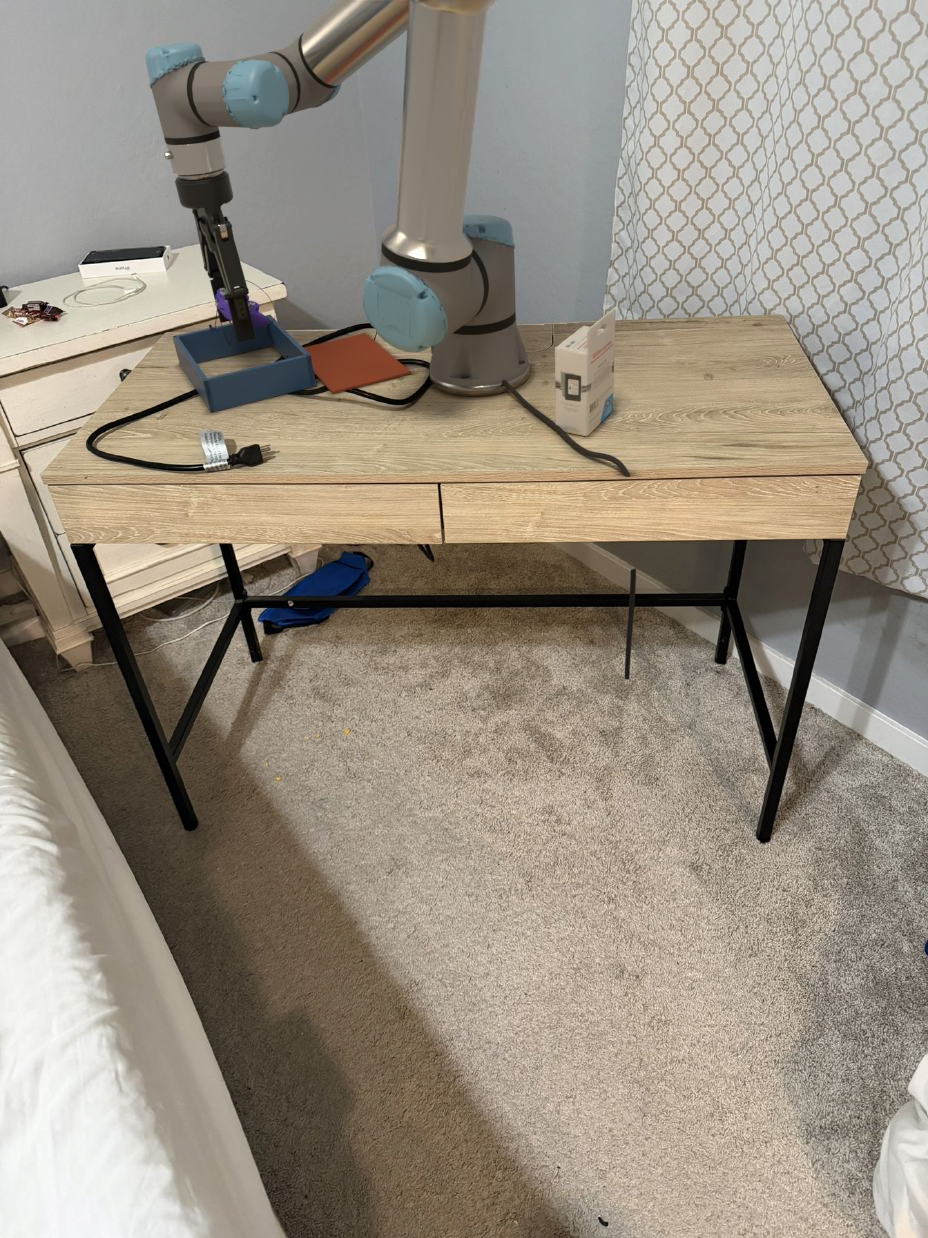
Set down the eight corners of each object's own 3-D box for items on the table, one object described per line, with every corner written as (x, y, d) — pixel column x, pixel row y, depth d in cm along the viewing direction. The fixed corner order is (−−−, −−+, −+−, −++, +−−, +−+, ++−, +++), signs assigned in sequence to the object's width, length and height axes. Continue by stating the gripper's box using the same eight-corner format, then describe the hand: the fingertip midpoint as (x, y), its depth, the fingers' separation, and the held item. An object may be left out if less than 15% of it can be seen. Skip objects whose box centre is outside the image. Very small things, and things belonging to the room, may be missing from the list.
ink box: (581, 405, 130) (583, 301, 121) (613, 411, 128) (617, 306, 119) (553, 430, 125) (553, 323, 116) (586, 437, 122) (588, 329, 113)
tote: (316, 386, 142) (310, 355, 139) (210, 412, 137) (202, 380, 134) (276, 343, 158) (270, 314, 154) (180, 365, 152) (172, 335, 149)
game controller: (289, 301, 140) (233, 307, 134) (281, 350, 145) (227, 358, 139) (251, 271, 144) (196, 275, 138) (245, 320, 150) (191, 326, 143)
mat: (411, 373, 143) (410, 371, 143) (332, 393, 139) (332, 391, 139) (365, 335, 158) (364, 332, 157) (292, 352, 154) (292, 349, 153)
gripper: (158, 165, 136) (197, 315, 149) (191, 191, 119) (231, 357, 133) (208, 156, 138) (242, 305, 152) (247, 181, 122) (281, 345, 135)
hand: (237, 329), depth 142 cm, fingers closed on game controller, 10 cm apart
